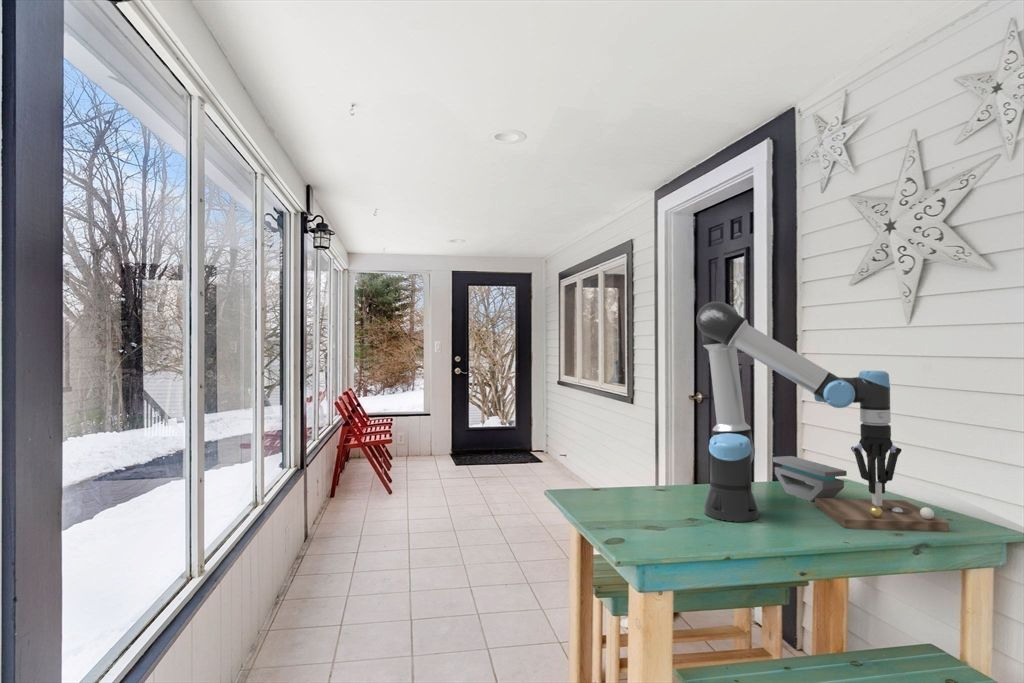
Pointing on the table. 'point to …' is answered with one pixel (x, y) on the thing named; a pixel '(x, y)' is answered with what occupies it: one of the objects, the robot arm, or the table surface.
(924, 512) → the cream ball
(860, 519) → the walnut plate
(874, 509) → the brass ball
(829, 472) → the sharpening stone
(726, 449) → the robot arm
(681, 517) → the table surface
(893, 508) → the steel ball
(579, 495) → the table surface
